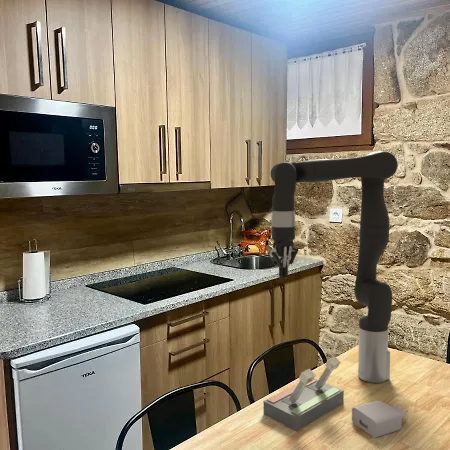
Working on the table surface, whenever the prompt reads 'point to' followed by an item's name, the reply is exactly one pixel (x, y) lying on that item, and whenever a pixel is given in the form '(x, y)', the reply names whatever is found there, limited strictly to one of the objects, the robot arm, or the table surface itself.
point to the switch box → (303, 405)
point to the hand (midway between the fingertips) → (283, 278)
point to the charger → (378, 418)
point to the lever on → (327, 371)
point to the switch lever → (302, 384)
